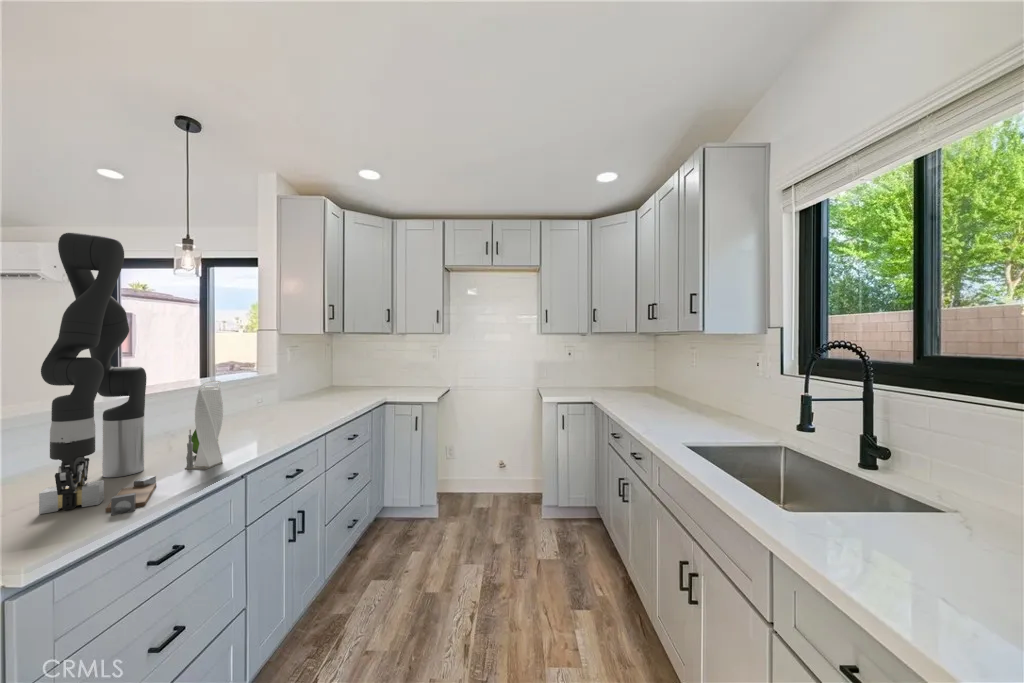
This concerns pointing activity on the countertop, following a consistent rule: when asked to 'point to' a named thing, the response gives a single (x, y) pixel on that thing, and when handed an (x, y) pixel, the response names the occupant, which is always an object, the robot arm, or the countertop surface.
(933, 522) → the countertop surface
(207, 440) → the skyscraper
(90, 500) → the gray and yellow block
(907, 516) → the countertop surface
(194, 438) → the avocado
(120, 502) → the coupling stand
